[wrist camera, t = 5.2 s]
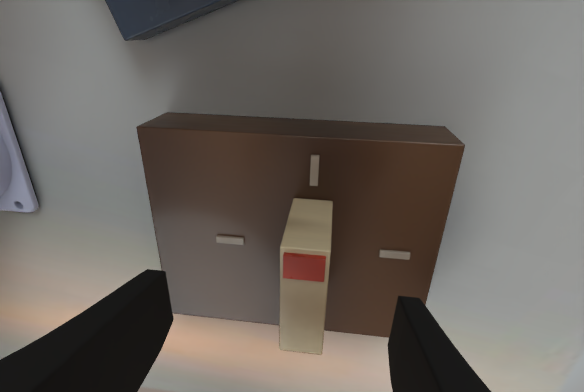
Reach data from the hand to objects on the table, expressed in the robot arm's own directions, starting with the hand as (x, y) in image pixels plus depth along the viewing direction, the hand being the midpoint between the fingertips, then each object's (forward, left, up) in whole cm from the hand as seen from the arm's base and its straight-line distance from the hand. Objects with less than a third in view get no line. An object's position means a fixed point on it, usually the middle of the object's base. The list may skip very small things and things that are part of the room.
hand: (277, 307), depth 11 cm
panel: (0, -2, -9) cm, 9 cm away
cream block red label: (+1, -2, -6) cm, 6 cm away
